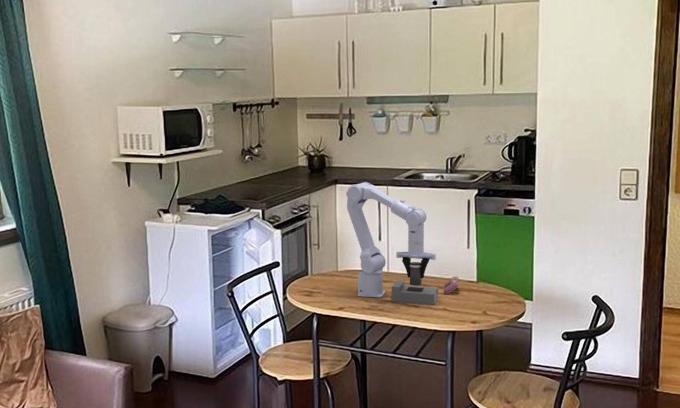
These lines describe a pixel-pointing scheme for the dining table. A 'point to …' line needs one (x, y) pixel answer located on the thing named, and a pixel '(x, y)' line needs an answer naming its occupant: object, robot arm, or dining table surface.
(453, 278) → the pink rounded piece
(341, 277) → the dining table surface
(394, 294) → the camera body
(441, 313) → the dining table surface
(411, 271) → the lens
